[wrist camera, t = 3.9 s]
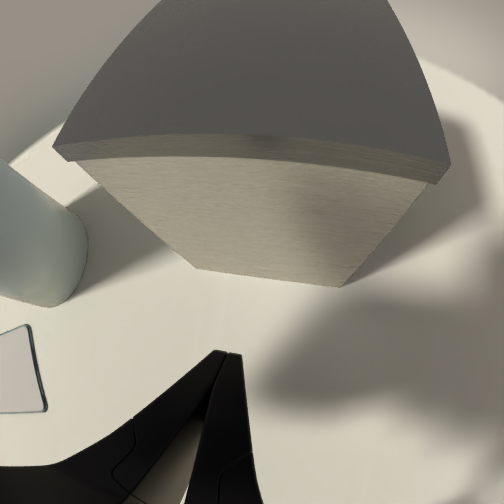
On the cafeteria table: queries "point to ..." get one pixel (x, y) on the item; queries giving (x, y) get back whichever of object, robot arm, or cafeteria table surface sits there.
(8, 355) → the smartphone
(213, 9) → the tin
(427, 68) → the cafeteria table surface
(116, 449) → the robot arm
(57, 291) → the round-topped grey cylinder
